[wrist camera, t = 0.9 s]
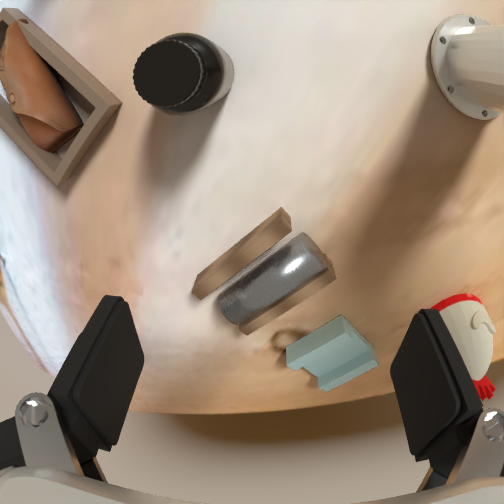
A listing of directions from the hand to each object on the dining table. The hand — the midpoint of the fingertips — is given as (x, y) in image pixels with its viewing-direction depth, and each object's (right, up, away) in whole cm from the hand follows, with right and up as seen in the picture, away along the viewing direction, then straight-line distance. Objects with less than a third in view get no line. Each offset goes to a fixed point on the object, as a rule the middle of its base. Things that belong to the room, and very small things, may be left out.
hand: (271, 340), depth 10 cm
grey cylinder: (+1, +1, +29) cm, 29 cm away
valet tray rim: (-27, +23, +18) cm, 39 cm away
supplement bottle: (-6, +21, +18) cm, 28 cm away
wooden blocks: (+1, +1, +29) cm, 29 cm away
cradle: (+12, -12, +36) cm, 40 cm away
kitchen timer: (+32, -9, +34) cm, 47 cm away
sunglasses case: (-27, +23, +18) cm, 39 cm away
